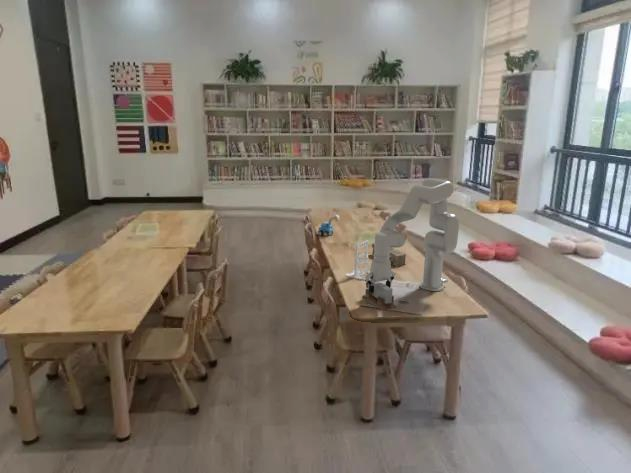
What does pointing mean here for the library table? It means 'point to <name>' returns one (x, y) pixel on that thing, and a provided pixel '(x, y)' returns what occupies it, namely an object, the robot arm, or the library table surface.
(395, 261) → the grey-brown long block
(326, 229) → the toy excavator
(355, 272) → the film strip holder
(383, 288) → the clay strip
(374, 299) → the rack
